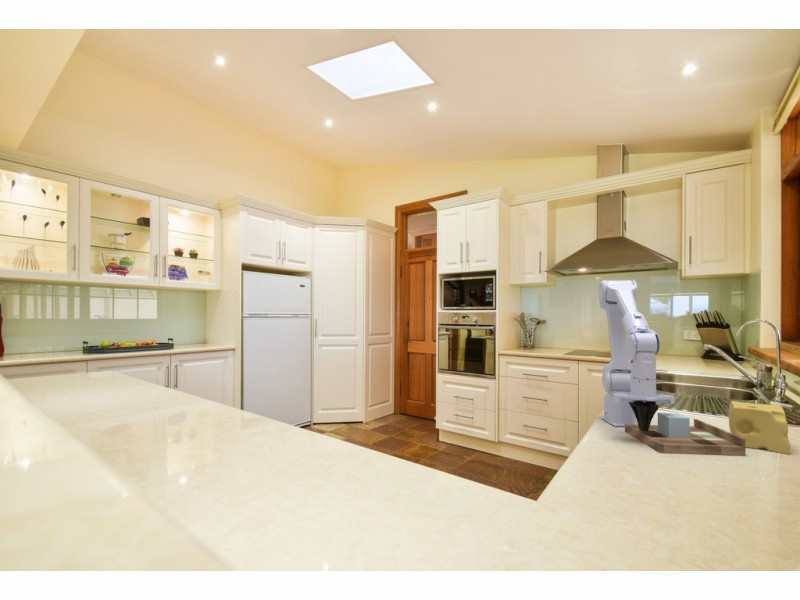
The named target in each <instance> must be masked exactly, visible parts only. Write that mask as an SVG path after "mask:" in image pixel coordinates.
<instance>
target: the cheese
mask: <svg viewBox="0 0 800 600" xmlns="http://www.w3.org/2000/svg"><path fill="white" fill-rule="evenodd" d="M785 412H786V411H785V410H784V409H783V407H782V406H781V405H780V404H779V405H778V404H764V403H762V404H761V403H753V402H752V403H751V402H741V401H734V400H731V401H730V404H729V409H728V425H729V426H728V427H729V431H730V433H732V434H735V435H737V436H740V437H742V438H745V448H748V449H762V450H763V449H764V450H766V451H768V452H773V453H779V454H784V455H789V453H790V448H791V445H790V444H791V443H790V440H789V437H788V436H789V435H788V433H789V425H788V422H787V418H786V413H785Z"/></svg>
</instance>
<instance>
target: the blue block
mask: <svg viewBox="0 0 800 600" xmlns="http://www.w3.org/2000/svg"><path fill="white" fill-rule="evenodd" d="M690 420H691V419H690V418H689V417H688V416H685V415H683V414H680V413H678V412H657V425H658V432H660V433H662V434H663V435H665V436H667V437H669V438H690V426H691V425H690V424H691V423H690V422H691V421H690Z"/></svg>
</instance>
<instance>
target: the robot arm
mask: <svg viewBox="0 0 800 600" xmlns="http://www.w3.org/2000/svg"><path fill="white" fill-rule="evenodd" d="M638 287H639V286H638V283H637V282H636V280H634V279H630V280H628V279H627V280H624V279H623V280H605V279H603V280H601V281H600V282H599V285H598V300H599V305H600V308H602V309H603V310H604V311H605V313H606V319H607V329H608V339H609V348H610V360H611V361H610V362H608V363H607V364H606V365H604V366H603V368H602V370H601V371H602V376H601V377H602V378H601V384H602V388H603V390H604V391H605V392H607V393H605V396H604V397H603V398H604V399H603V414H604V415H603V416H600V417H601V418H600V419H602V420H604V421H605V422H607V423H609V424H610V425H612V426H614V427H624V428H625V424H636V425H638V426H639V429H640V430H641V431H649V427H650V425H651V423H652V420H653V418H654V416H655V415H656V413H657V412H658V410H659V405H658V404H670V405H673V404H674V405H675V401H676V399H675V396H674V395H671V394H661V393H659V394H658V393H657V355H658V354H659V353H660V351H661V340H660V336H659V334H658V332H656V331H654V330H653V329H651V327H650V326H649V323H648V322H647V321H648V320H647V319H646V317H645V314H643V313H641V312H639V310H638V307H637V303H636V300H637V299H636V298H637V296H638V293H639V288H638Z"/></svg>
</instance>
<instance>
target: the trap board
mask: <svg viewBox="0 0 800 600" xmlns="http://www.w3.org/2000/svg"><path fill="white" fill-rule="evenodd" d="M625 431H626V432H625ZM624 432H625V433H627V434H628V433H629V435H630V436H632V437H634V438H635V439H636V440H638V441H640V442H642V443H643V444H644V445H646V446H648V447H650V448H651V449H652V450H655V451H656V452H658V453H660V454H683V455H684V454H685V455H687V454H688V455H709V454H711V455H713V456H743V457H745V456H746V453H747V452H746V447H745V438H742V437H740V436H737V435H735V434H732V433H731V432H729V431H727V430H725V429H722V428H719V427H718V426H715V425H712V424H710V423H707V422H704V421H702V420H700V419H698V418H693V425H690V438H669V437H667V436H665V435H663V434H662V433H660V432H658V424H650V427H649V431H641V430H640V429H639V426H638V425H636V424H625V427H624Z"/></svg>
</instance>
